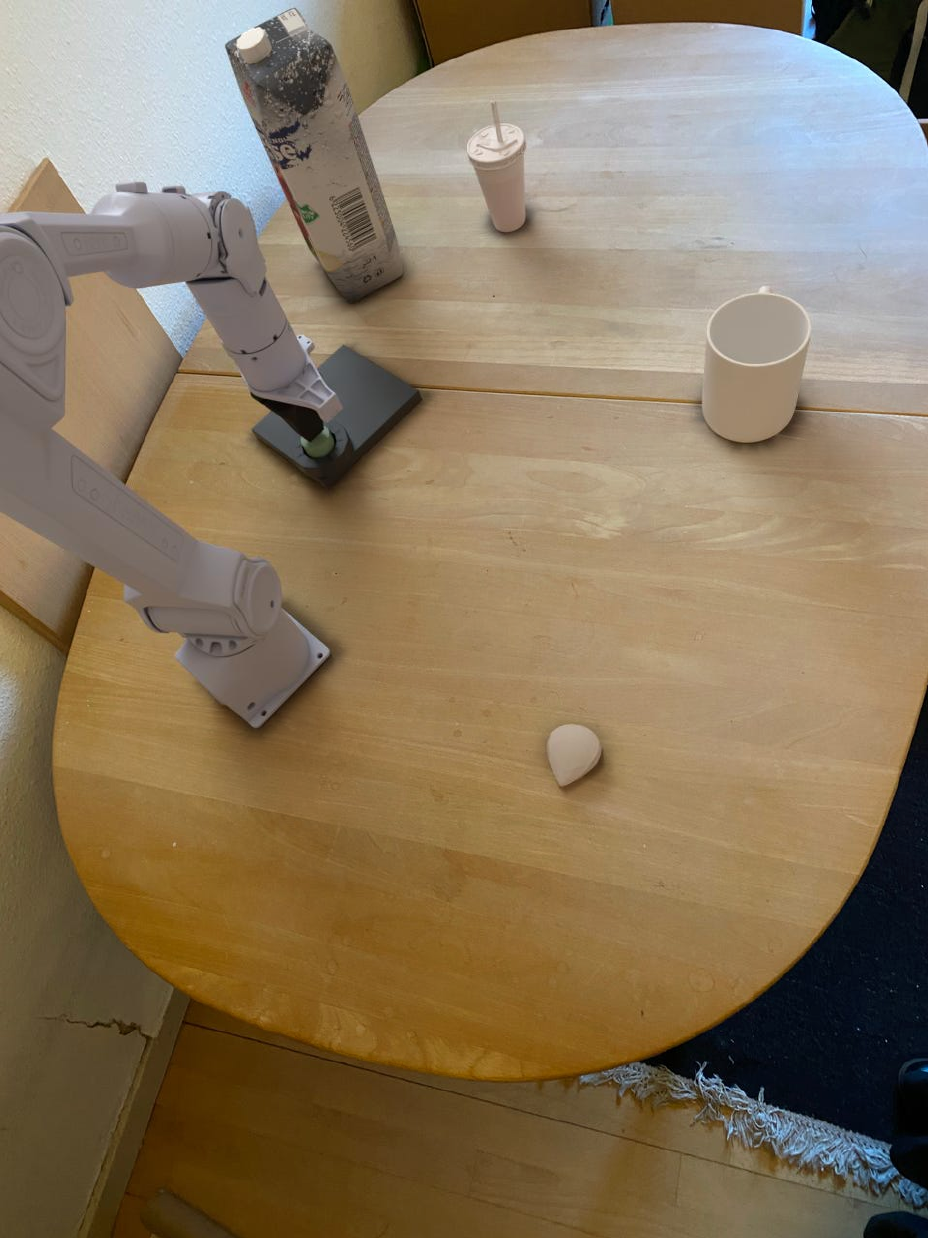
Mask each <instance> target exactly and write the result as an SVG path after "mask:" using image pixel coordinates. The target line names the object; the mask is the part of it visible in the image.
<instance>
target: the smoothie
mask: <svg viewBox="0 0 928 1238" xmlns="http://www.w3.org/2000/svg"><path fill="white" fill-rule="evenodd" d="M490 107H491V112H492V118H493V124H490V125H488V126H485V127H483V128H481V129H479V130H477V132H475V133H473V135H472V136H471V137H470V138H469V140H468V141H467V144H466V154H467V161H468V163H469V164H470V165H471V166H472V167H473V170H474V172H475V176H476V178H477V181H478V183H479V187H480V189H481V192H482V195H483V198H484V201H485V204H486V206H487V209H488V212H489V215H490V218H491V221H492V223H493V226H494V228H495V229H496V230H497V231H498V232H500V233H501V232H502V233H511V232H514V231H516V230H519V229H520V228H521V227H522V226H523V225H524V224H525V222H526V188H525V187H526V186H525V185H526V184H525V152H526V149H527V141H526V135H525V133H524V131H523V130H522V129H521V128H520V127H519V126H517V125H515V124H511V123H501V122H500V117H499V109H498V104H497V99H491V100H490Z"/></svg>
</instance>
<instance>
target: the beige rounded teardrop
mask: <svg viewBox="0 0 928 1238" xmlns="http://www.w3.org/2000/svg"><path fill="white" fill-rule="evenodd" d="M546 752H547V758H548V762H549V766H550V768H551V771H552V773H553V776H554V777H555V780H556V782H557V784H558V785H559V786H561V787H564V786H567V785H569V784H571V783H573V782H575V781H577V780H580V779H581V778H582V777H584V776H585V775H587V774H588V773H589V772H590V771H592V770H593V769H594V768H595V767H596V766H597V765H598V763H599V761H600V760H601V758H602V753H603V748H602V744H601V742H600V740H599V738H598V736H597V734H596V733H595V732H594V731H592V730H591V729H590V728H588V727H585V726H584V725H580V724H575V723H570V724H563V725H560V726H557V727H556V728H555V729H554V730H552V732H551V733H550V735H549V736H548V739H547V743H546Z"/></svg>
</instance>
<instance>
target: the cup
mask: <svg viewBox="0 0 928 1238" xmlns="http://www.w3.org/2000/svg"><path fill="white" fill-rule="evenodd" d="M812 331H813V325H812V319H811V317H810V315H809V313H808V312H807V310H806V309H805V308H804V307H803V306H802V305H801V304H800V303H799V302H798V301H796V300H795V299H792V298H790V297H788V296H786V295H782V294H778V293H773V289H772V287H771V286H769V285H763V286H761V287H760V288H759V289H758V292H751V293H744V294H741V295H739V296H736V297H733V298H731V299H730V300H727V301H725V302H724V303H722V304H721V305H720V306H719V307H718V308H716V309H715V311H714V312H713V313H712V315H711V316H710V318H709V320H708V321H707V325H706V331H705V332H706V333H705V347H704V363H703V364H704V365H703V366H704V367H703V376H702V377H703V378H702V392H701V393H702V394H701V411H702V416H703V419H704V420H705V422H706V424H707V425H708V427H709V428H710V429H711V430H712V431H713V432H714V433H715V434H717V435H719V436H720V437H722V438H723V439H726V440H728V441H732V442H735V443H736V442H737V443H745V444H746V443H757V442H761V441H764V440H767V439H770V438H773V436H776V435H777V434H779V433H780V432H781V431H783V430H784V428H786V427H787V426H788V425H789V423H790V422H791V420H792V418H793V415H794V413H795V410H796V407H797V402H798V397H799V393H800V389H801V383H802V379H803V374H804V371H805V365H806V361H807V356H808V351H809V347H810V342H811V336H812Z"/></svg>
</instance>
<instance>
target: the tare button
mask: <svg viewBox="0 0 928 1238" xmlns="http://www.w3.org/2000/svg"><path fill="white" fill-rule="evenodd" d="M301 444H302V445H303V447H304V449H305V450H306V452H307V454H308V455H309V456H311V457H313V458H321V457H324V456H326V455H328V454H329V453H330V452H331V451H332V449H333V447H334V439H333V437H332V435H331V433H330V431H329V430H328V428H327V427H326V426H324V430H323V431H322V432H321V433H320V434H319V435H318V436H317V437H316V438H315V439H314V440H313V441H312V442H308V441H307V440H306V439H304V438H303V437H301Z"/></svg>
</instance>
